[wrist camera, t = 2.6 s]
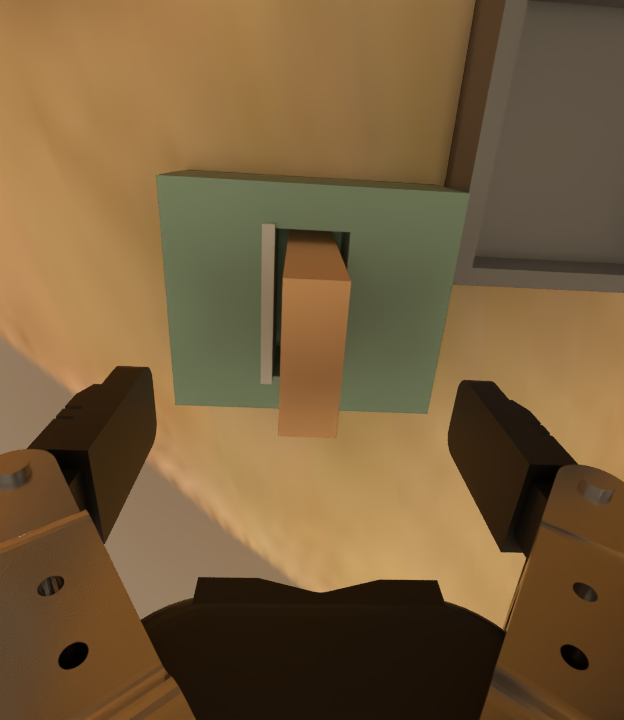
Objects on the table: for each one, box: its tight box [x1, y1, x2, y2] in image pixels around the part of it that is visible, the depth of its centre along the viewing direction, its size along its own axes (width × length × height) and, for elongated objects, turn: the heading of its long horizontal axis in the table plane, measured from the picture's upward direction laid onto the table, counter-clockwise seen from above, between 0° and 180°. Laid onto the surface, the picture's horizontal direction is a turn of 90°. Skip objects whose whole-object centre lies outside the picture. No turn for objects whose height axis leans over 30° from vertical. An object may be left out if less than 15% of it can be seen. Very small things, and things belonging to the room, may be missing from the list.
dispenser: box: [156, 170, 470, 414], centre depth 21 cm, size 12×10×5 cm
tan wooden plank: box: [278, 229, 351, 438], centre depth 18 cm, size 2×6×9 cm, turn 177°
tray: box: [445, 0, 624, 293], centre depth 20 cm, size 11×12×4 cm
